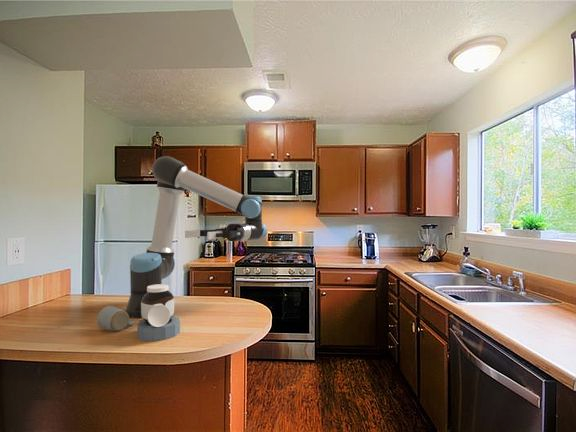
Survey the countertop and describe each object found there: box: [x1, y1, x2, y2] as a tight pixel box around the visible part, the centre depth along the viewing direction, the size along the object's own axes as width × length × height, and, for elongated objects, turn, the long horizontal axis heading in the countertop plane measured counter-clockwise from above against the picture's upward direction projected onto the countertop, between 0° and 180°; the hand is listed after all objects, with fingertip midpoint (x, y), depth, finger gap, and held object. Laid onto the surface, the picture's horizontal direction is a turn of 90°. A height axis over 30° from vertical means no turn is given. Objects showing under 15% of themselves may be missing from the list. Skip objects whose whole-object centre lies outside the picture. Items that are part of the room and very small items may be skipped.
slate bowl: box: [136, 315, 181, 342], centre depth 111 cm, size 13×13×4 cm
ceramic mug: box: [96, 305, 134, 332], centre depth 117 cm, size 11×8×8 cm
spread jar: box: [141, 283, 175, 327], centre depth 110 cm, size 12×11×12 cm
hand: (196, 235), depth 125 cm, fingers open, 13 cm apart
